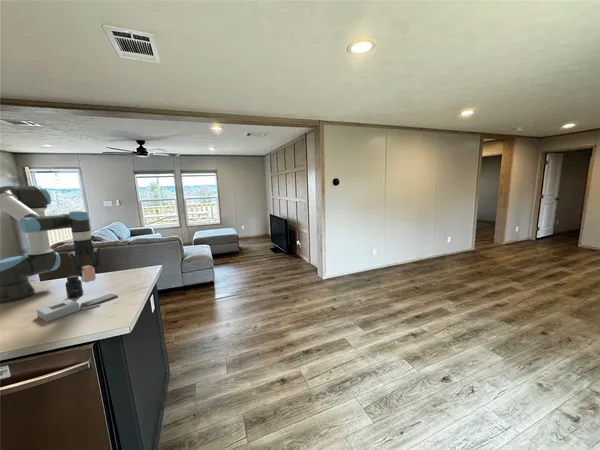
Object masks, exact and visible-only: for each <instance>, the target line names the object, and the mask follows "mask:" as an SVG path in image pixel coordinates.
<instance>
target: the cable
mask: <svg viewBox="0 0 600 450" xmlns="http://www.w3.org/2000/svg"><path fill="white" fill-rule="evenodd" d="M101 304H102V303H100V304H97V305H93V306H88V307H84V306H83V307H80V311H83V310H88V309H93V308H97V307H100V306H101Z"/></svg>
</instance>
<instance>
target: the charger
mask: <svg viewBox="0 0 600 450" xmlns="http://www.w3.org/2000/svg"><path fill="white" fill-rule="evenodd" d="M82 270H84V275H85V282H84V283H89V282H95V280H96V279H95V277H94V270H93V266H92V265H91V264H90V265H89V264H88V265H84V266H82Z"/></svg>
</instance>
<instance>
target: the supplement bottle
mask: <svg viewBox="0 0 600 450" xmlns="http://www.w3.org/2000/svg"><path fill="white" fill-rule="evenodd" d="M79 278H80V277H79V276H78V274H76V275H69V276H67V277H66V283H65V285H64V286H65V290H66V297H67V299H70V300H72V299H75V298H76V299H77V298H80V297H82V296H83V295H84V291H83V289H84V288H83V284H82V280H81V279H79Z"/></svg>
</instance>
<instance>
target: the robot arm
mask: <svg viewBox="0 0 600 450" xmlns="http://www.w3.org/2000/svg"><path fill="white" fill-rule="evenodd" d="M51 198H52V197H51V195H50V192H49V191H48V190H47V188H45V187H43V186H41V185H3V186H0V210H2V211H4V212H5V213H7V214H8V215H9V216H11V217H12V218H13V219H15V220H16V221H18V227H19V229H20V230H21V232H23V233H25V234H26V235H27V240H28V245H29V251H28V252H27V253H26V254H27V255H26V256H27V257H26V256H25V257H24V256H23V255H17V256H11V257H7V258H3V259H0V304H1V303H2V304H3V303H10V301H11V302H15V301H19V300H23V299H26V298H30V297H31V296H34V295H35V294H36V289H35V288H34V286H33V285H32V284H31V283H30V281H29V277H32V276H36V275H40V274H44V273H50V272H52V271H56V270H57V269H58V268H59V267H60V265H61V257H60V254H59V252H56V251H55V250H54V249H53V248H51V244H50V239H49V238H50V237H49V232H48V231H53V230H54V231H55V230H63V229H71V233H72V234H71V235H72V239H73V247H74V250H73V251H71V252H68V253H67V255H68V257H69V258H70V263H71V264H70V265H71V268H72V271H76V272H77V275H78V277H79V278H80V280H81V282H83V283H86V282H85V275H84V270H82V267H83V261H84V258H85V257H87V258H88V261H89V263H90V266H93V270H94V277H95V280H96V279H97V277H96V273H97V272H98V269H97V268H98V266H101V261H100V259H101V258H100V250H101V249H100V247H94V246H93V238H92V232H91V225H90V224H91V223H90V217H89V213H88V211H86V210H73V211H72V210H71V211H69V213H63V214H57V215H56V214H55V215H46V214H45V211H46V210H47V209H48V206H49V205H50V204H51V202H52V199H51ZM92 252H94V256H93V254H92ZM76 255H77V261H76V257H75V256H76ZM93 257H94V258H93Z"/></svg>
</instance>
